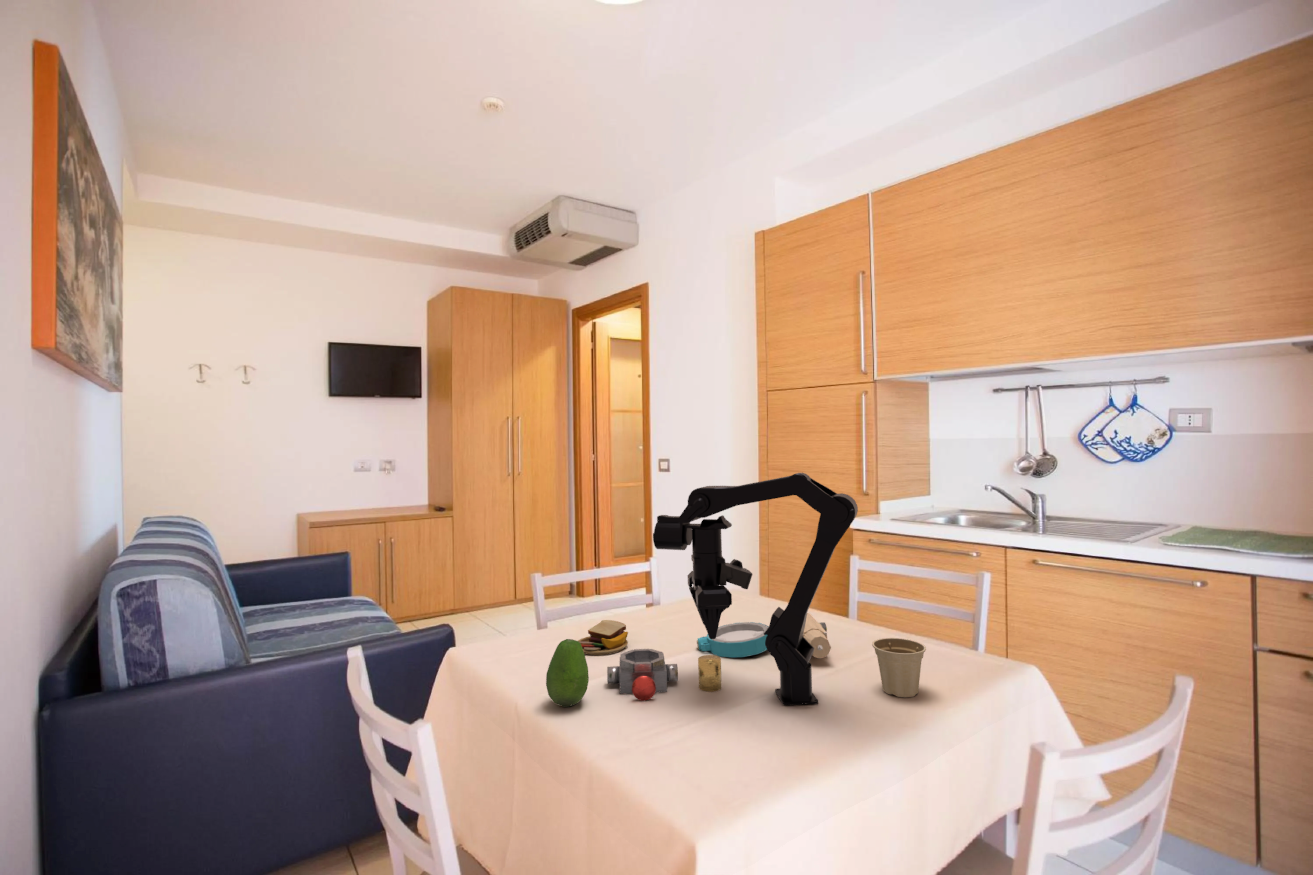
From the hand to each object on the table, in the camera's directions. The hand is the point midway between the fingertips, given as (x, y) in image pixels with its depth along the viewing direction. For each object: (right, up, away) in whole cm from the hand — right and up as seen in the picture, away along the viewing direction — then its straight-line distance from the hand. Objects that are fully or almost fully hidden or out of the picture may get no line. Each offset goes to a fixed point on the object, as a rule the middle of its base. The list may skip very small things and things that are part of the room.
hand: (709, 631), depth 120 cm
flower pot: (+35, -10, -4) cm, 37 cm away
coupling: (0, -11, 0) cm, 11 cm away
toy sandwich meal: (-23, -12, +26) cm, 37 cm away
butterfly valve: (+14, -11, +22) cm, 28 cm away
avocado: (-27, -12, -7) cm, 30 cm away
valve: (-13, -11, 0) cm, 17 cm away
